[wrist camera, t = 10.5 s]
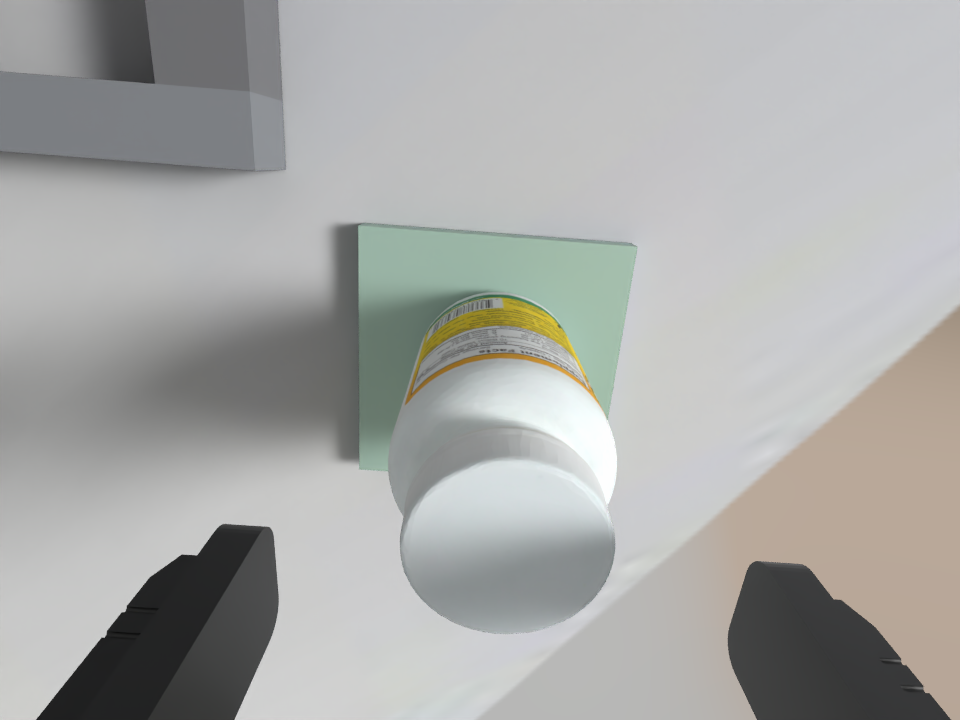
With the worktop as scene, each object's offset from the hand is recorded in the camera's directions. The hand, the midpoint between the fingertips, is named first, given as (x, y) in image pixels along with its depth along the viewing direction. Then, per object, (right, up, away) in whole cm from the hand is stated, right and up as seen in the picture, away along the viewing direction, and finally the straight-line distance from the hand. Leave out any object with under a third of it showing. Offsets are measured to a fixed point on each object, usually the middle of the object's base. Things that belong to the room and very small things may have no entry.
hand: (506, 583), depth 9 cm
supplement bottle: (0, +4, +10) cm, 11 cm away
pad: (0, +4, +11) cm, 11 cm away
